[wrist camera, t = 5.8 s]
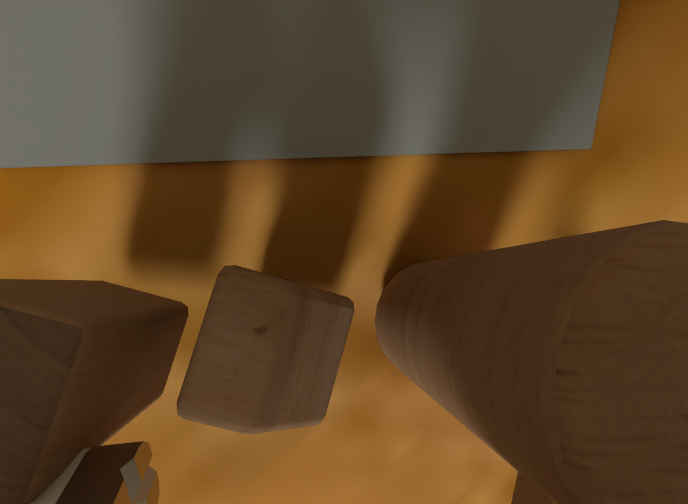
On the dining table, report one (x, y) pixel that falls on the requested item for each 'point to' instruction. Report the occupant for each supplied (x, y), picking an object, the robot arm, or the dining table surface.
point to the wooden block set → (398, 346)
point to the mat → (296, 78)
